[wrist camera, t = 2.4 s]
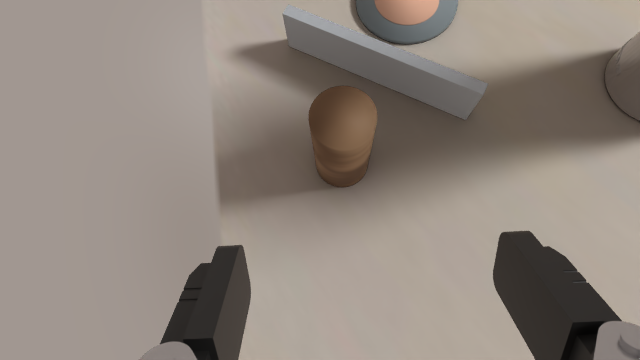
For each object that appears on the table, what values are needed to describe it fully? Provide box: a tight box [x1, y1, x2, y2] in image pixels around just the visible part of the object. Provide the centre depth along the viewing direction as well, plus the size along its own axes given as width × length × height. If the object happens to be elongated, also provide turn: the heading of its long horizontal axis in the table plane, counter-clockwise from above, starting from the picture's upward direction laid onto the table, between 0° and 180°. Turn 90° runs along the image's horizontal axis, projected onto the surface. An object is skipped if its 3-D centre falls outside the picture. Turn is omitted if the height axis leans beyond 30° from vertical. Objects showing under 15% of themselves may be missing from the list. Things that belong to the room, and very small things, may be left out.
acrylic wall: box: [283, 4, 488, 120], centre depth 38 cm, size 20×1×5 cm, turn 63°
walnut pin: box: [309, 86, 377, 187], centre depth 33 cm, size 5×5×10 cm
